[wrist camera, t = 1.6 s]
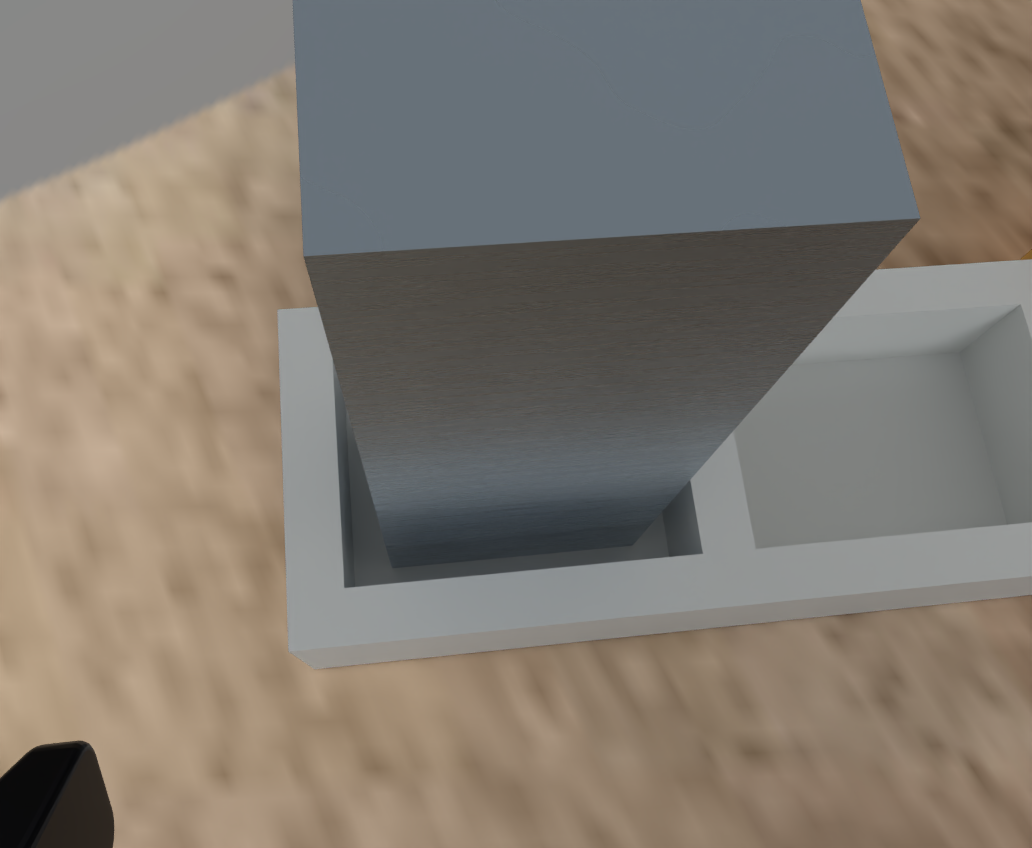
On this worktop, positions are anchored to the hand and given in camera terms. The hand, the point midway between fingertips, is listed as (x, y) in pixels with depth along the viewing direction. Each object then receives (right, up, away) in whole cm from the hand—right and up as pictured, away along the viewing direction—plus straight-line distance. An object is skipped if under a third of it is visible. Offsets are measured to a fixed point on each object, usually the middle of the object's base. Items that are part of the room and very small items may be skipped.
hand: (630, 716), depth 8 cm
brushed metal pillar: (-1, +1, +12) cm, 12 cm away
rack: (+6, +2, +14) cm, 15 cm away
